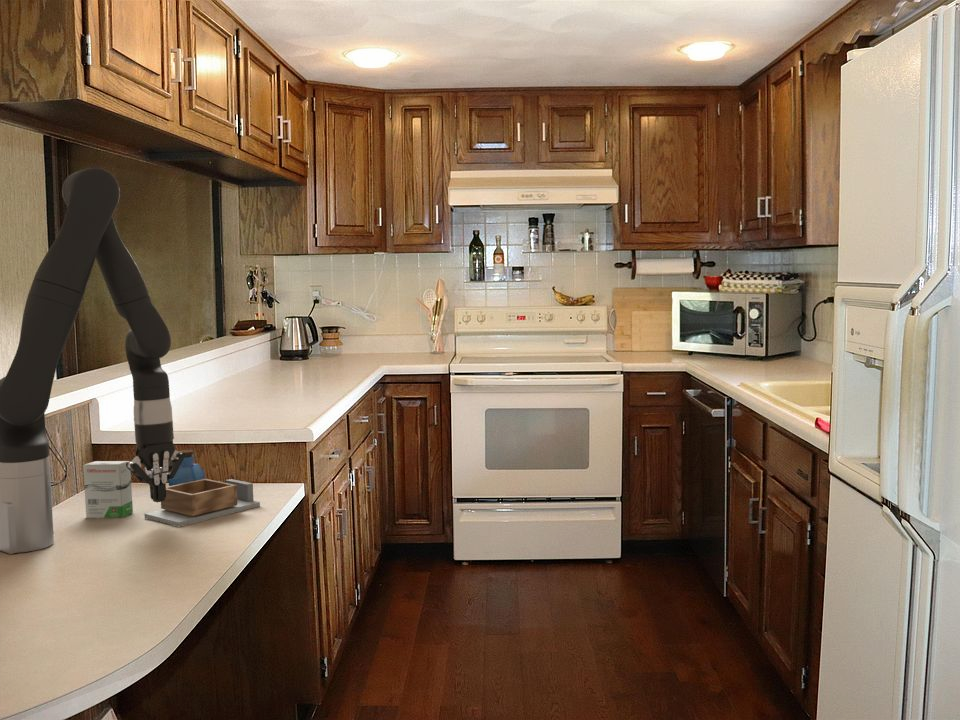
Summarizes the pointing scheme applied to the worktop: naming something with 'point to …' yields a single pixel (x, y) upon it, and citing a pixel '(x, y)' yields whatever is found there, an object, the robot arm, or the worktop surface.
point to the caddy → (199, 497)
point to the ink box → (107, 489)
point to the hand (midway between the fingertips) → (158, 501)
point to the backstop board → (181, 519)
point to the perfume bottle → (187, 470)
